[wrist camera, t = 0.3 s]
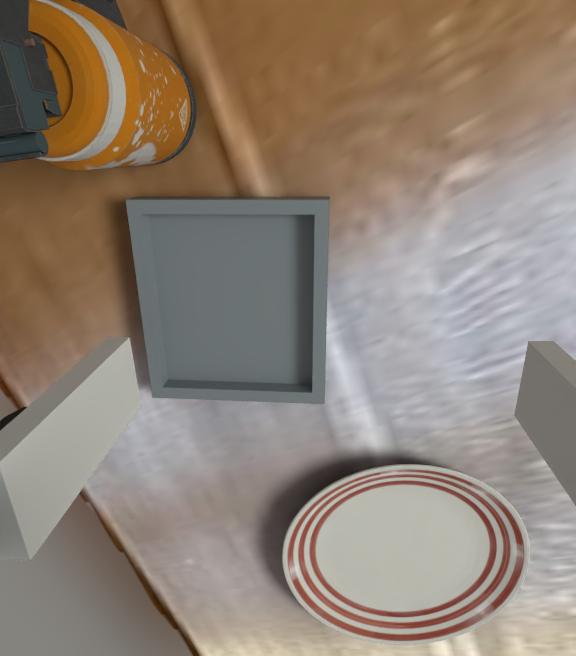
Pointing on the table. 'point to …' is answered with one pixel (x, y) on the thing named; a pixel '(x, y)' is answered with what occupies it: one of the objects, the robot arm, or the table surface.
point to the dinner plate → (406, 554)
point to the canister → (87, 88)
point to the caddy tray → (233, 295)
